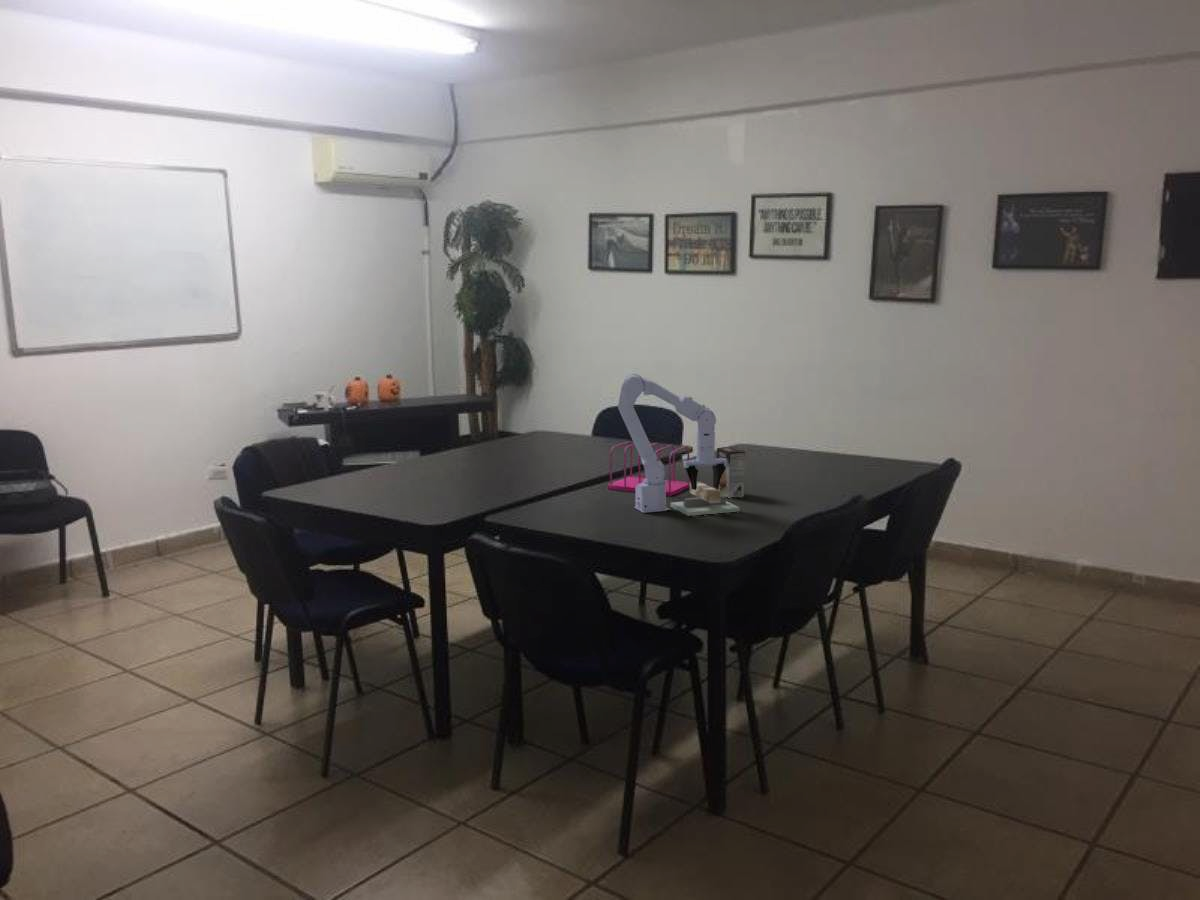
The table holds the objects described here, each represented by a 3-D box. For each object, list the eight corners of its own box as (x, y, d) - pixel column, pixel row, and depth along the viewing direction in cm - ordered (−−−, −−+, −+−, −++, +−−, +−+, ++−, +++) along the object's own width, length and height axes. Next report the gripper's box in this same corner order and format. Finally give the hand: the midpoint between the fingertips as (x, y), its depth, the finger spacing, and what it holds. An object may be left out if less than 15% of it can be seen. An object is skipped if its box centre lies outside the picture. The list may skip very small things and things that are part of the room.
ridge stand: (688, 516, 300) (688, 504, 300) (670, 507, 314) (670, 495, 313) (739, 512, 306) (740, 499, 306) (720, 502, 319) (720, 490, 319)
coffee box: (715, 493, 333) (716, 447, 330) (731, 491, 336) (732, 446, 333) (727, 498, 325) (728, 451, 322) (744, 497, 327) (745, 450, 324)
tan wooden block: (689, 492, 316) (689, 482, 316) (699, 491, 317) (699, 481, 317) (710, 503, 301) (710, 492, 301) (720, 502, 302) (720, 491, 302)
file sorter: (671, 497, 329) (671, 452, 326) (607, 489, 341) (606, 446, 338) (691, 487, 344) (692, 444, 341) (629, 480, 356) (629, 438, 353)
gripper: (690, 449, 300) (689, 492, 303) (731, 447, 305) (731, 489, 307) (680, 446, 307) (680, 487, 309) (722, 443, 311) (721, 484, 314)
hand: (704, 488), depth 309 cm, fingers open, 7 cm apart
